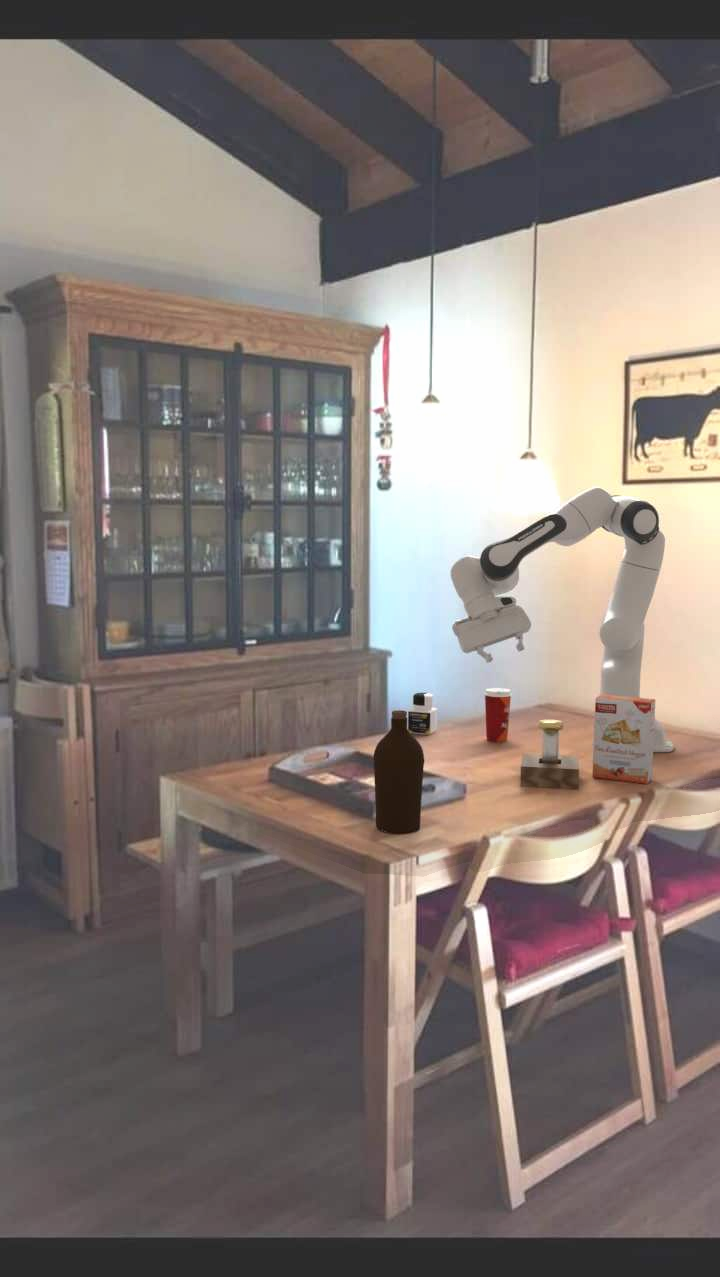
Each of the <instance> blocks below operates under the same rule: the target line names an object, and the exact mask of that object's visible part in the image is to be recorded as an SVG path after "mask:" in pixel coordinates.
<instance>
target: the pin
mask: <svg viewBox="0 0 720 1277" xmlns="http://www.w3.org/2000/svg"><path fill="white" fill-rule="evenodd" d="M538 729H540V730H542V740H541V741H542V742H541V743H542V744H541V750H542V751H541V755H542V763H543V764H558V755H559V747H560V746H559V744H560V740H559V739H560V731H562V730H563V729H564V722H563V721H561V720H557V719H542V720H541V719H540V720H539V721H538Z"/></svg>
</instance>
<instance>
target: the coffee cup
mask: <svg viewBox="0 0 720 1277" xmlns="http://www.w3.org/2000/svg"><path fill="white" fill-rule="evenodd" d="M512 694H513V693H511V689H510V688H509V689H508V688H504V687H488V688H486V689H485V692H484V693H483V695H484V702H485V703H484V705H485V706H484V708H485V730H486V731H485V733H486V735H485V736H486V741H489V742H494V743H495V742H496V743H502V742H507V740H508V732H509V723H510V722H509V721H510V712H511V711H510V710H511V709H510V708H511V698H512V696H513V695H512Z"/></svg>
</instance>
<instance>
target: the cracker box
mask: <svg viewBox="0 0 720 1277" xmlns="http://www.w3.org/2000/svg"><path fill="white" fill-rule="evenodd" d="M594 704H595V706H594V707H595V708H594V724H593V726H594V729H593V731H594V732H593V741H594V744H593V751H592V754H593V755H592V775H591V776H592V778H594V779H595V778H597V779H605V780H614V781H620V782H627V783H637V784H642V785H643V784H644V785H648V784H649V782H651V780H652V778H653V762H654V752H653V745H654V722H655V719H656V718H655V717H656V699H654V698H643V697H640V698H635V697H624V696H614V695H602V694H601V695H600V694H599V695H598V696H596V697H595V703H594Z"/></svg>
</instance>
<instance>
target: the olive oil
mask: <svg viewBox="0 0 720 1277" xmlns="http://www.w3.org/2000/svg"><path fill="white" fill-rule="evenodd" d="M407 713H408V711H406V710H403V709H402V710H400V709H399V710H398V709H397V710H392V711H391V718H390V719H391V720H390V724H391V725H390V726H391V728H390V730H389V731H388V732H387V733H386V734H385V735H384V736H383V737H382V738H381V740H379V742H378V743H377V745H376V746H375V749H374V752H373V774H374V775H373V776H374V798H375V802H374V803H375V827H377V828H378V829H379V830H378V829H377V828H376V829H377V830H378V831H380V830H383V831H386V832H392V833H391V834H394V833H405V834H410V832H412V833H415V832H417V831H419V829H421V819H422V817H421V814H422V812H421V811H422V798H423V797H422V796H423V783H424V782H423V778H424V766H425V765H424V764H425V754H424V751H423V747H422V745H421V743H420V742H419V741H418V740H417V739H416V738H415V736H413V734H412V733H410V732H409V731H408V717H407V716H408V714H407ZM383 831H382V832H383ZM386 832H385V833H386Z"/></svg>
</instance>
